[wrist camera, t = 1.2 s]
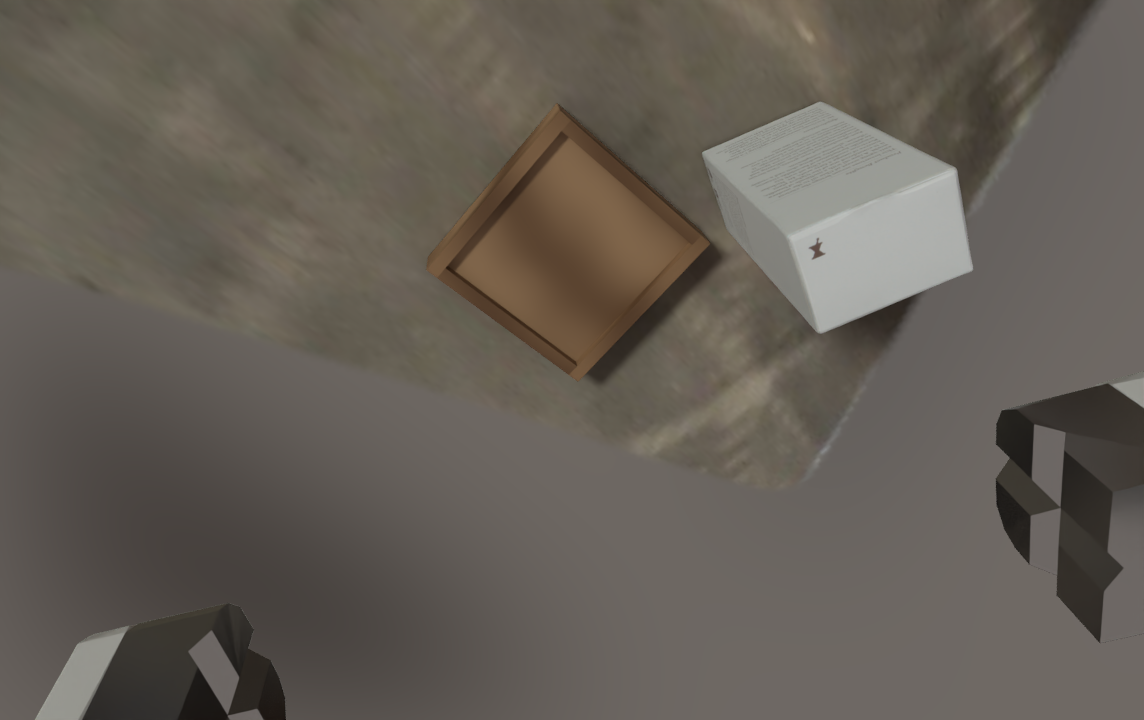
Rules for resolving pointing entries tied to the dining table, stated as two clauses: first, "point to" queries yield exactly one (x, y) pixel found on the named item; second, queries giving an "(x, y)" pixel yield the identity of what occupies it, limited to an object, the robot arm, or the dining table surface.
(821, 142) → the skincare box
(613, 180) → the walnut tray
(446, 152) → the dining table surface
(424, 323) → the dining table surface
